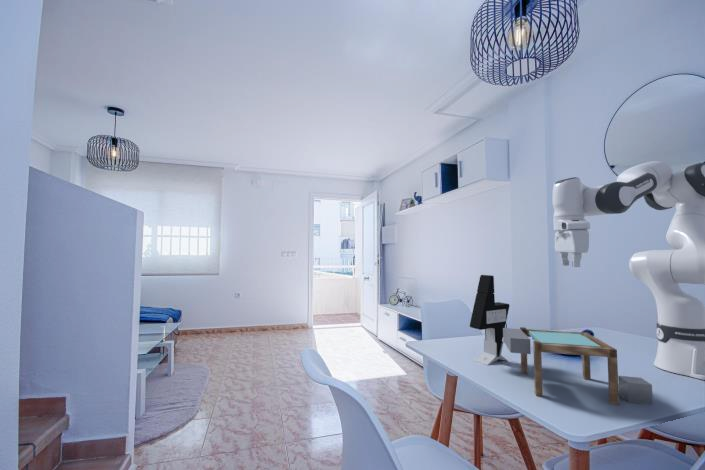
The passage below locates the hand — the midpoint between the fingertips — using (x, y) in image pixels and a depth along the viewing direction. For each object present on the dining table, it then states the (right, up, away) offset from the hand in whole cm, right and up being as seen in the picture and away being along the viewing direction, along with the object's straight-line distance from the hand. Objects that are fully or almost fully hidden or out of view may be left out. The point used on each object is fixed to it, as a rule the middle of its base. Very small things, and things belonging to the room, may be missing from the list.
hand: (570, 266), depth 111 cm
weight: (-1, -32, -26) cm, 41 cm away
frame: (-14, -32, -17) cm, 39 cm away
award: (-25, -34, +5) cm, 42 cm away
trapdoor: (-17, -23, -16) cm, 33 cm away
